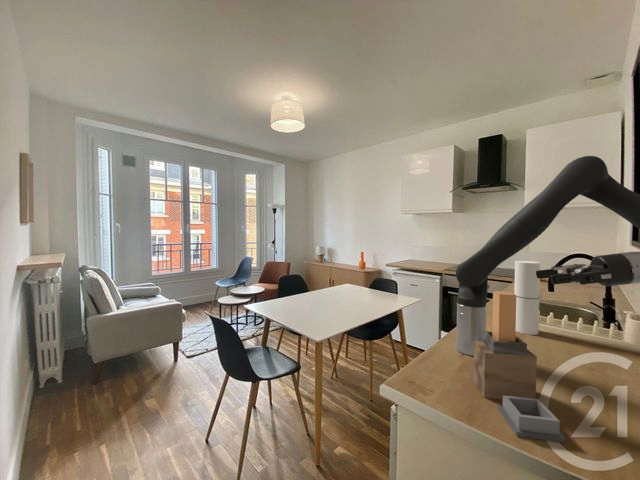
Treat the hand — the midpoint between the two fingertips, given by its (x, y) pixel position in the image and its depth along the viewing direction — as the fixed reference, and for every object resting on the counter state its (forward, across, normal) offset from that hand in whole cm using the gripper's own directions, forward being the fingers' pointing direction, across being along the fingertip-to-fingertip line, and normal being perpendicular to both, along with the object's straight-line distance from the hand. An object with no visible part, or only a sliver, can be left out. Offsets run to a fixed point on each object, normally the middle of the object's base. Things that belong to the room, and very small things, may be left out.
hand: (543, 277), depth 71 cm
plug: (+12, 0, +18) cm, 22 cm away
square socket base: (+14, 0, +30) cm, 33 cm away
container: (-8, -54, +33) cm, 64 cm away
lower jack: (+13, +13, +30) cm, 35 cm away
